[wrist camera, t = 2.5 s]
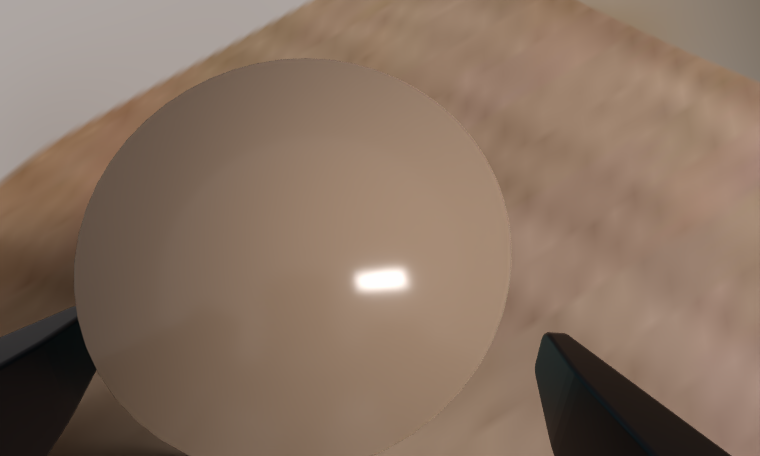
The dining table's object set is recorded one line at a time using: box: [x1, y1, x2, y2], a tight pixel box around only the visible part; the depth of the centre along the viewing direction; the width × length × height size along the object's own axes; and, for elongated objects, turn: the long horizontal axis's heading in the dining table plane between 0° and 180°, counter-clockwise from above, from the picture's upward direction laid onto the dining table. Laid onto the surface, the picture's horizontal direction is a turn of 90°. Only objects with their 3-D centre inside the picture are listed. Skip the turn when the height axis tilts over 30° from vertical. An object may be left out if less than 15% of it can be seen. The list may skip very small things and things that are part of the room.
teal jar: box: [74, 58, 512, 456], centre depth 11 cm, size 5×5×12 cm
